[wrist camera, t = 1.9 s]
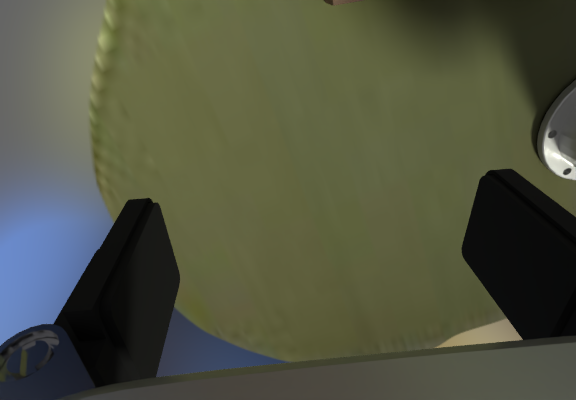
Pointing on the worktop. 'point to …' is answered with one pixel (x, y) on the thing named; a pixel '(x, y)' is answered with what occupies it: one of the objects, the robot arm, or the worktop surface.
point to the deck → (340, 1)
